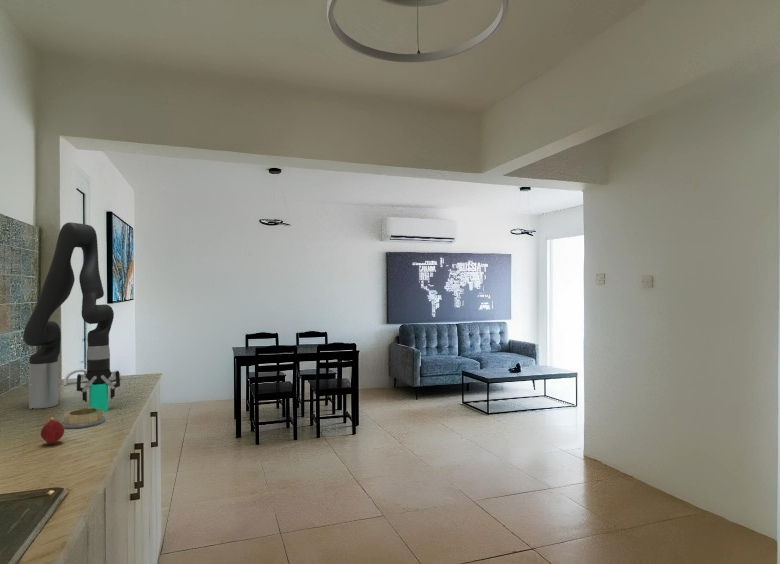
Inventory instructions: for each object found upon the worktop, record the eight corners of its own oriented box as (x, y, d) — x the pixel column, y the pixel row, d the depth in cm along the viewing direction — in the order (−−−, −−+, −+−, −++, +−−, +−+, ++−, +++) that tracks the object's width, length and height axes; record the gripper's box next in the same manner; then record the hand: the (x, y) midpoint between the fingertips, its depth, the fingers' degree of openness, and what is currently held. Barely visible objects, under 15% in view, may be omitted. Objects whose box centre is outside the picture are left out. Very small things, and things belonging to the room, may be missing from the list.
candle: (94, 413, 181) (94, 381, 181) (86, 411, 185) (86, 379, 184) (111, 410, 186) (110, 378, 186) (102, 407, 190) (102, 377, 190)
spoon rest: (119, 377, 249) (119, 363, 249) (122, 381, 239) (122, 367, 239) (63, 383, 235) (63, 368, 235) (64, 388, 226) (63, 372, 226)
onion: (68, 441, 150) (68, 416, 150) (50, 448, 144) (50, 421, 144) (55, 439, 152) (54, 414, 152) (36, 446, 146) (36, 419, 146)
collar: (64, 427, 162) (63, 418, 162) (64, 419, 171) (64, 410, 171) (102, 421, 168) (102, 413, 168) (101, 414, 177) (101, 406, 177)
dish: (60, 431, 160) (60, 428, 160) (61, 421, 171) (61, 418, 171) (106, 424, 167) (106, 422, 167) (104, 416, 178) (104, 413, 178)
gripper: (119, 354, 192) (119, 395, 192) (76, 357, 185) (76, 400, 185) (120, 356, 186) (120, 399, 186) (76, 360, 178) (76, 404, 178)
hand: (98, 400), depth 185 cm, fingers open, 8 cm apart
